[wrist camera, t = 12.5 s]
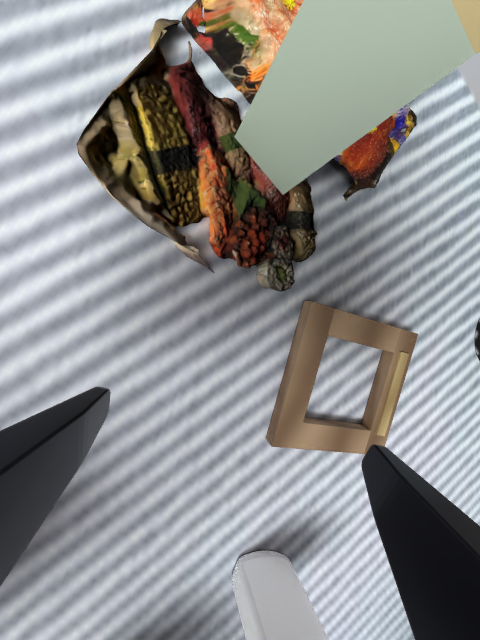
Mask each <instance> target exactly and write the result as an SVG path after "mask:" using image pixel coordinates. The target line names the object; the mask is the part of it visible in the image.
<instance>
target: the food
mask: <svg viewBox="0 0 480 640" xmlns="http://www.w3.org/2000/svg"><path fill="white" fill-rule="evenodd" d="M303 1H304V0H196V1H195V2H194V3H193V4H192V5H191V6H190V7H189V9H188V10H187V11H186V12H185V13H184V15H183V17H182V21H179V20H168V19H158V20H157V21H156V22H155V25H154V28H153V30H152V33H151V36H150V48H151V52H150V53H149V54H148V55H147V56H146V57H145V58H144V59H143V60H142V61H141V62H140V63H139V65H138V66H137V67H136V68H135V69H134V70H133V71H132V72H131V73H130V74H129V75H128V76H127V77H126V78H125V79H124V80H123V81H122V82H121V83H120V84H119V85H118V87H117V88H116V89H114V90H113V91H111V93H110V94H109V96H108V97H107V98H106V100H105V101H104V103H103V104H102V105H101V107H100V108H99V110H98V111H97V112H96V114H95V115H94V117H93V118H92V119H91V121H90V122H89V124H88V125H87V126H86V128H85V129H84V131H83V133H82V135H81V137H80V139H79V141H78V143H77V148H78V154H79V156H80V157H81V158H82V160H83V161H84V163H85V164H86V165H87V166H88V168H89V169H90V171H91V173H92V174H93V175H94V176H95V177H96V179H97V180H98V181H99V182H100V183H101V185H102V186H103V187H104V188H105V189H106V191H107V192H108V193H109V194H110V195H111V196H112V197H113V198H114V199H115V200H116V201H117V202H119V203H120V204H121V205H122V206H123V207H125V208H126V209H127V210H128V211H129V212H131V213H132V214H133V215H134V216H135V217H137V218H138V219H139V220H141V221H142V222H143V223H145V224H146V225H147V226H149V227H150V228H152V229H154V230H156V231H158V232H159V233H161V234H163V235H165V236H167V237H169V238H170V239H172V240H174V243H175V245H176V246H177V247H178V248H179V249H180V250H181V251H182V252H183V253H184V254H185V255H186V256H187V257H189V258H191V259H193V260H194V261H196V262H198V263H200V264H202V265H204V266H206V267H208V265H207V264H206V263H205V262H204V260H203V259H202V258H201V257H200V255H199V250H198V249H197V248H195V247H194V246H191V245H187V244H186V241H185V236H183V235H181V234H179V233H178V232H176V231H175V230H174V228H175V227H176V226H181V227H183V226H187V225H188V224H190V223H198V222H200V220H201V219H202V218H204V217H210V224H209V229H210V232H209V233H210V235H211V236H210V240H209V243H210V245H211V246H212V248H213V250H214V252H215V254H217V255H218V257H220V258H222V259H226V258H232V259H234V260H236V261H237V265H238V266H240V267H244V268H250V267H251V266H253V265H256V266H257V267H258V273H257V274H256V276H257V278H258V281H259V284H260V286H262V287H264V288H271V289H274V290H277V291H285V290H287V289H289V288H290V289H291V286H292V285H293V283H294V282H295V281H294V279H293V277H294V272H293V266H292V262H291V261H292V260H294V261H295V262H301V261H304V260H306V259H307V258H308V257H309V256H310V255H312V253H313V252H314V251H315V249H316V247H315V238H314V237H315V236H316V235H317V232H316V231H315V230H314V223H313V214H314V209H313V206H312V202H311V195H310V192H311V187H310V186H309V184H308V182H307V179H306V178H305V179H304V180H303V181H301V182H300V183H299V184H297V185H296V186H295V187H293V188H292V189H290V190H289V191H288V192H286V193H285V194H284V195H283V194H282V193H281V192H280V191H279V190H278V188H277V187H276V186H275V185H274V184H273V182H272V181H271V180H270V179H269V178H268V177H267V175H266V174H265V173H264V172H263V171H262V169H261V168H260V167H259V166H258V165H257V163H256V162H255V161H254V160H253V159H252V157H251V156H250V155H249V154H248V153H247V151H246V150H245V149H244V148H243V147H242V145H241V144H240V143H239V142H238V141H237V139H236V138H235V135H236V133H237V131H238V129H239V127H240V125H241V123H242V121H241V119H240V115H239V109H238V105H237V103H236V102H235V101H233V100H231V99H229V98H217V97H215V96H214V95H213V94H212V93H211V92H210V91H209V90H208V89H207V88H206V87H205V85H204V84H203V81H202V79H201V77H200V76H199V75H198V74H197V72H196V70H195V67H194V65H193V63H192V61H191V57H192V48H191V44H190V41H188V44H189V55H190V57H189V59H188V61H187V62H186V63H184V64H181V65H177V66H172V67H168V66H167V65H166V61H165V58H164V56H163V54H162V51H161V47H160V42H159V40H160V39H161V38H162V36H163V35H164V34H165V33H166V31H167V30H163V29H164V28H166V27H167V26H170V25H172V24H174V25H176V26H177V25H178V24H179V23H180V22H182V24H183V26H184V27H185V28H186V30H187V31H188V33H189V34H191V36H192V37H193V39H194V40H195V42H196V43H197V44H198V45H199V46H200V47H201V48H202V49H203V50H204V51H205V52H206V53H207V54H208V55H209V56H210V57H211V59H212V60H213V61H214V62H215V63H216V65H217V67H218V68H219V69H220V71H221V72H222V73H223V74H224V76H225V77H226V78H227V79H228V80H229V81H230V82H231V83H232V84H233V86H234V87H235V88H236V89H237V90H238V91H241V92H242V94H243V95H244V97H245V98H246V100H247V101H248V102H249V103H250V104H251V103H252V101H253V99H254V97H255V95H256V93H257V91H258V89H259V87H260V86H261V84H262V82H263V80H264V78H265V76H266V74H267V72H268V70H269V68H270V66H271V64H272V62H273V60H274V58H275V56H276V54H277V52H278V50H279V48H280V46H281V44H282V42H283V40H284V38H285V36H286V34H287V33H288V31H289V29H290V27H291V25H292V23H293V21H294V19H295V17H296V15H297V13H298V11H299V9H300V7H301V5H302V3H303ZM203 6H204V19H205V20H204V19H203V18H202V14H203V13H202V7H203ZM196 25H197V27H198V26H204V25H205V33H202V32H198V30H197V27H196ZM200 54H201V52H200ZM416 119H417V118H416V115H415V113H414V112H413V111H412V110H411V109H410V108H409V107H407V106H406V105H405V106H404V107H402V108H401V109H400V110H398V111H397V112H396V113H394V114H393V115H392V116H390V117H389V118H387V119H386V120H385V121H383V122H382V123H381V124H379V125H378V126H376V127H375V128H374V129H372V130H371V131H370V132H368V133H367V134H366V135H364V136H363V137H361V138H360V139H359V140H357V141H356V142H355V143H353V144H352V145H351V146H349V147H348V148H346V149H345V150H344V151H342V152H341V153H340V154H338V155H337V156H336V157H334V159H335V160H336V161H337V162H338V163H339V164H340V165H343V166H344V167H345V168H346V169H347V170H348V172H349V175H351V177H352V178H353V179H354V182H353V184H352V185H351V186H350V188H349V189H348V190H347V192H346V193H345V194H344V195H343V196H344V198H345V200H346V201H347V198H348V197H350V196H351V195H352V194H353V193H355V192H357V191H358V190H360V189H365V188H375V187H376V184H377V183H378V182H379V179H380V176H381V174H382V172H383V170H384V169H385V167H386V165H387V164H388V162H389V161H390V160H391V158H392V157H393V156H394V154H395V153H396V151H397V150H398V149H399V148H400V146H401V145H402V144H403V142H404V141H405V140H406V139H407V137H408V136H409V134H410V133H411V131H412V130H413V128H414V127H415V126H416V125H417V124H416ZM404 128H406V131H405V132H400V131H401V130H402V129H404ZM191 145H194V146H197V148H198V152H197V154H196V155H194V154H193V152H192V149H191V147H190V146H191ZM208 268H209V267H208ZM209 269H210V268H209ZM212 272H213V271H212ZM213 273H214V272H213Z"/></svg>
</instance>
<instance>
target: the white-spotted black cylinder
mask: <svg viewBox="0 0 480 640" xmlns="http://www.w3.org/2000/svg"><path fill="white" fill-rule="evenodd" d="M475 348H476V353H477V356H478V358H479V360H480V320H479V322H478V326H477V329H476V335H475Z"/></svg>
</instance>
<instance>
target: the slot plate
mask: <svg viewBox="0 0 480 640" xmlns="http://www.w3.org/2000/svg"><path fill="white" fill-rule="evenodd" d="M327 336H332V337H336V338H340V339H343V340H347V341H351V342H355V343H359V344H362V345H366V346H370V347H374V348H378V349H382V350H383V351H382V355H381V358H380V362H379V365H378V368H377V372H376V375H375V379H374V382H373V386H372V389H371V392H370V396H369V399H368V403H367V406H366V409H365V413H364V416H363V420H362V423H361V424H355V423H347V422H339V421H331V420H324V419H316V418H308V417H305V414H306V410H307V406H308V403H309V399H310V396H311V392H312V389H313V385H314V382H315V378H316V375H317V371H318V368H319V364H320V360H321V357H322V353H323V350H324V346H325V343H326V339H327ZM417 336H418V334H416V333H413V332H409V331H406V330H403V329H400V328H396V327H393V326H390V325H387V324H383V323H380V322H377V321H374V320H370V319H367V318H364V317H361V316H357V315H354V314H351V313H348V312H344V311H341V310H338V309H335V308H331V307H328V306H325V305H322V304H319V303H315V302H311V301H304V303H303V306H302V310H301V313H300V317H299V321H298V324H297V328H296V331H295V335H294V339H293V342H292V346H291V349H290V353H289V357H288V360H287V364H286V367H285V371H284V375H283V378H282V382H281V386H280V389H279V393H278V396H277V400H276V404H275V407H274V411H273V414H272V418H271V422H270V425H269V429H268V432H267V436H266V439H267V441H268V442H269V443H270V445H271V446H272V447H284V448H296V449H309V450H322V451H334V452H347V453H359V454H366V453H367V451H368V449H369V447H370V446H371V445H373V444H376V445H381V446H384V447H385V444H386V440H387V437H388V433H389V430H390V427H391V423H392V420H393V417H394V413H395V410H396V407H397V403H398V400H399V397H400V393H401V390H402V386H403V383H404V380H405V376H406V373H407V370H408V366H409V363H410V360H411V356H412V353H413V350H414V346H415V343H416V339H417Z"/></svg>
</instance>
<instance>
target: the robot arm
mask: <svg viewBox="0 0 480 640" xmlns="http://www.w3.org/2000/svg"><path fill="white" fill-rule="evenodd" d="M109 404H110V390H109V389H107V388H103V387H94V388H92V389H90V390H88V391H86V392H84V393H81V394H79V395H77V396H75V397H73V398H70V399H68V400H66V401H64V402H62V403H60V404H57V405H55V406H53V407H51V408H49V409H47V410H44V411H42V412H40V413H38V414H36V415H34V416H31V417H29V418H27V419H25V420H23V421H21V422H18V423H16V424H14V425H12V426H10V427H8V428H5V429H3V430H1V431H0V586H1V585H2V583H3V582H4V580H5V579H6V577H7V576H8V574H9V573H10V571H11V570H12V568H13V567H14V565H15V564H16V562H17V561H18V559H19V558H20V556H21V555H22V553H23V552H24V550H25V549H26V547H27V545H28V544H29V542H30V541H31V539H32V538H33V536H34V535H35V533H36V532H37V530H38V529H39V527H40V526H41V524H42V523H43V521H44V520H45V518H46V517H47V515H48V514H49V512H50V511H51V509H52V508H53V506H54V505H55V503H56V502H57V500H58V499H59V497H60V496H61V494H62V493H63V491H64V490H65V488H66V487H67V485H68V484H69V482H70V481H71V479H72V478H73V476H74V475H75V473H76V472H77V470H78V469H79V467H80V465H81V464H82V462H83V460H84V459H85V457H86V455H87V453H88V451H89V449H90V447H91V446H92V444H93V442H94V440H95V438H96V436H97V434H98V432H99V430H100V428H101V427H102V425H103V423H104V421H105V419H106V417H107V415H108V412H109ZM362 471H363V475H364V479H365V483H366V488H367V492H368V496H369V500H370V504H371V508H372V512H373V515H374V519H375V522H376V525H377V528H378V531H379V534H380V537H381V540H382V543H383V546H384V549H385V552H386V555H387V558H388V561H389V564H390V567H391V570H392V573H393V576H394V579H395V581H396V584H397V587H398V590H399V593H400V596H401V599H402V602H403V605H404V608H405V611H406V614H407V617H408V620H409V623H410V626H411V629H412V632H413V635H414V638H415V640H480V526H479V525H478V524H477V523H475V522H474V521H473V520H472V519H471V518H469V517H468V516H467V515H466V514H465V513H463V512H462V511H461V510H460V509H459V508H458V507H456V506H455V505H454V504H453V503H452V502H450V501H449V500H448V499H447V498H446V497H444V496H443V495H442V494H441V493H440V492H439V491H437V490H436V489H435V488H434V487H433V486H431V485H430V484H429V483H428V482H427V481H425V480H424V479H423V478H422V477H421V476H420V475H418V474H417V473H416V472H415V471H414V470H412V469H411V468H410V467H409V466H408V465H406V464H405V463H404V462H403V461H402V460H400V459H399V458H398V457H397V456H396V455H395V454H393V453H392V452H391V451H390V450H389V449H387V448H386V447H384V446H381V445H376V444H373V445H371V446H370V447H369V449H368V451H367V453H366V455H365V456H364V458H363V460H362Z"/></svg>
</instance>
